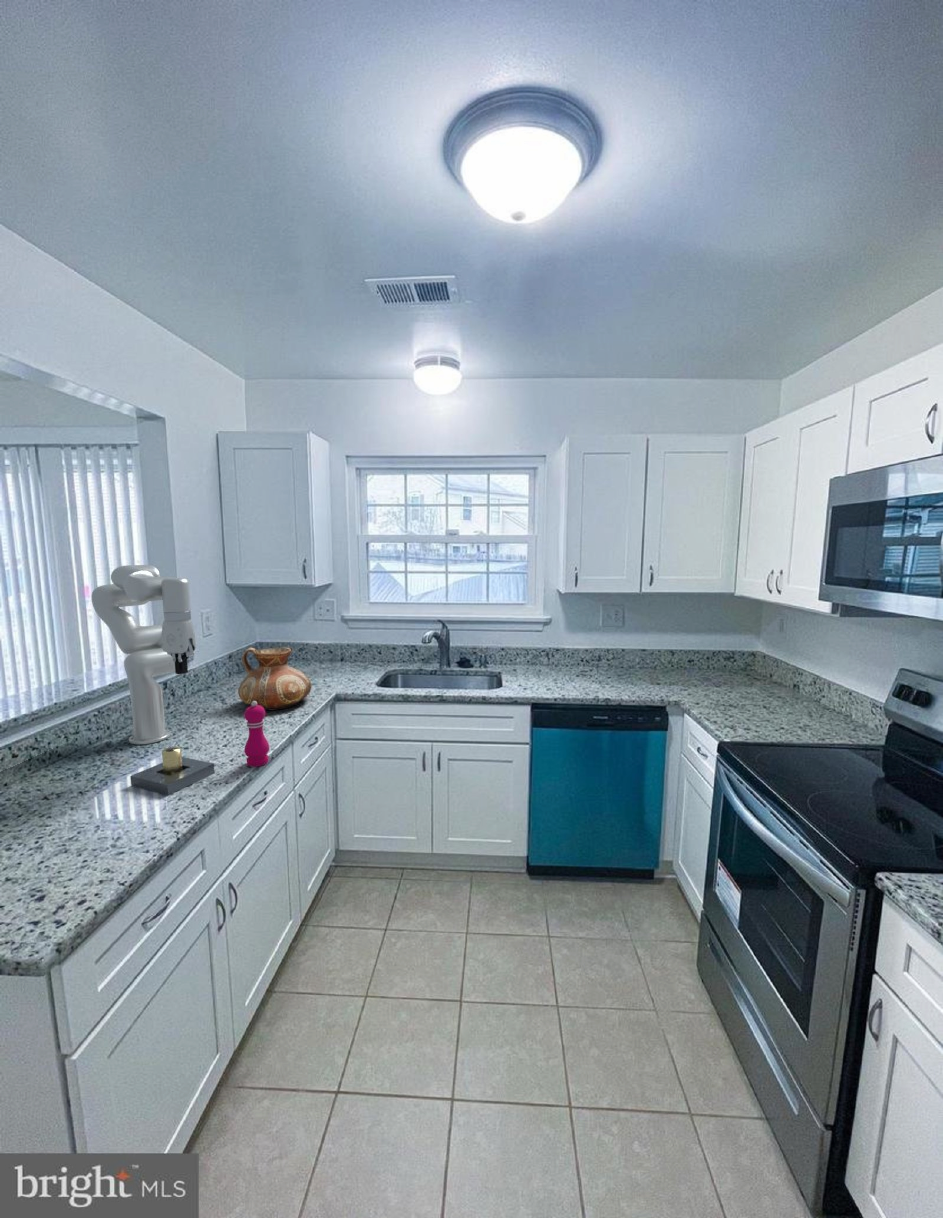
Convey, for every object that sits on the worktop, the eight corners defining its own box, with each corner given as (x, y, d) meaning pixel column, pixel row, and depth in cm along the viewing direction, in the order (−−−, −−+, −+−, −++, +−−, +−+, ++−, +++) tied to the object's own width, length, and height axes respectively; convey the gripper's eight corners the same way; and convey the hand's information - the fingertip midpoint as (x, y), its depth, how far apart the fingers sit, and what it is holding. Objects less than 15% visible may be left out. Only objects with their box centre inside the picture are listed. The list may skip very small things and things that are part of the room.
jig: (131, 786, 145) (130, 775, 145) (179, 765, 159) (178, 756, 158) (168, 795, 139) (167, 784, 139) (214, 773, 153) (213, 763, 153)
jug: (298, 690, 243) (296, 638, 240) (324, 704, 220) (322, 647, 217) (231, 702, 224) (227, 646, 221) (252, 719, 201) (248, 657, 198)
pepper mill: (243, 768, 156) (239, 705, 154) (247, 759, 163) (243, 698, 160) (268, 766, 158) (265, 703, 155) (271, 756, 165) (267, 696, 162)
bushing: (160, 781, 148) (157, 751, 147) (175, 774, 152) (173, 745, 151) (172, 784, 146) (169, 753, 145) (187, 777, 150) (184, 747, 149)
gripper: (150, 617, 162) (154, 674, 164) (183, 619, 156) (188, 678, 158) (171, 614, 169) (176, 668, 171) (204, 616, 163) (208, 672, 165)
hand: (181, 673), depth 165 cm, fingers closed
